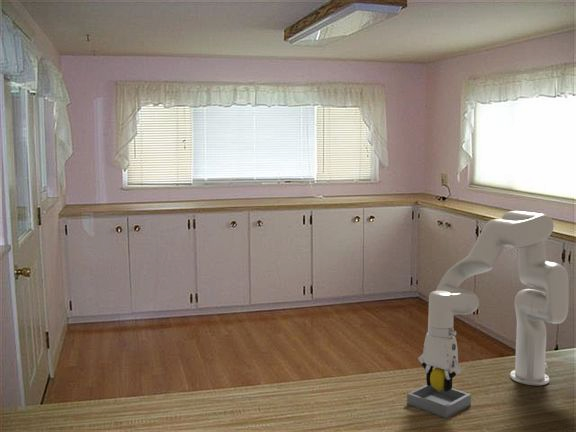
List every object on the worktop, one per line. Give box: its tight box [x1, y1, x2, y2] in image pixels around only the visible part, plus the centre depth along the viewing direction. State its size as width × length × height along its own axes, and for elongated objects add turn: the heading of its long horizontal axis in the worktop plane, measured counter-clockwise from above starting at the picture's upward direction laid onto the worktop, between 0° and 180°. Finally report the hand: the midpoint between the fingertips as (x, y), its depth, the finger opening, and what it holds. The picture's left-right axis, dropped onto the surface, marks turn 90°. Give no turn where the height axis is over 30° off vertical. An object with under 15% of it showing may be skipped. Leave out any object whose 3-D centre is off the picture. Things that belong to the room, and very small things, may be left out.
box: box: [406, 383, 472, 420], centre depth 182 cm, size 14×14×4 cm
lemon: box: [430, 367, 446, 392], centre depth 181 cm, size 6×6×8 cm
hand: (439, 386), depth 181 cm, fingers closed on lemon, 5 cm apart
